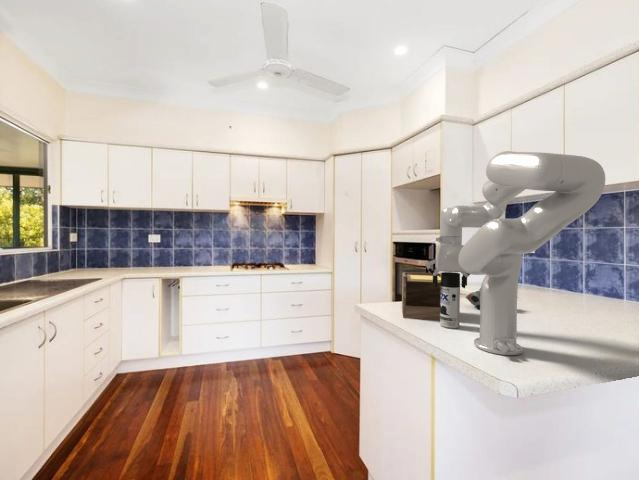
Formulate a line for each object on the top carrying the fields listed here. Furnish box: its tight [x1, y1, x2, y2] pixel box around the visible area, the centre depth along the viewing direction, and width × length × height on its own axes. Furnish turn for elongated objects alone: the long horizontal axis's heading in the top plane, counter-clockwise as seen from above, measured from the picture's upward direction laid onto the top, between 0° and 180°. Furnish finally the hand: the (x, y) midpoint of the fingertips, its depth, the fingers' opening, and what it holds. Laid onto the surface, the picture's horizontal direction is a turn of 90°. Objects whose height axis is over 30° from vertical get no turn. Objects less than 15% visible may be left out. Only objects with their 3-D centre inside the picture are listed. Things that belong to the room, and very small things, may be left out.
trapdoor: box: [406, 274, 441, 282], centre depth 129 cm, size 14×14×1 cm
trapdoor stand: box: [401, 271, 442, 321], centre depth 129 cm, size 17×17×17 cm
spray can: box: [439, 271, 461, 330], centre depth 112 cm, size 7×7×20 cm
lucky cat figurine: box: [465, 287, 481, 309], centre depth 142 cm, size 15×12×14 cm
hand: (449, 286), depth 112 cm, fingers open, 9 cm apart
